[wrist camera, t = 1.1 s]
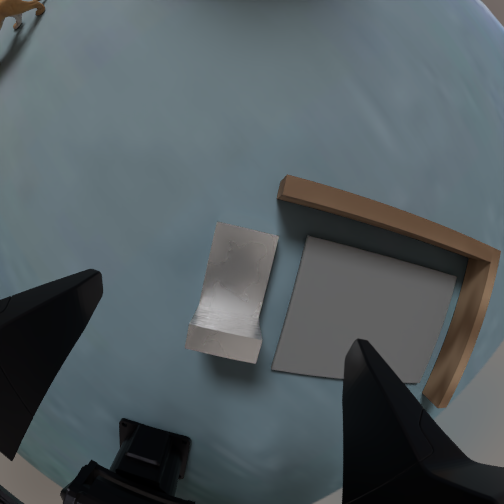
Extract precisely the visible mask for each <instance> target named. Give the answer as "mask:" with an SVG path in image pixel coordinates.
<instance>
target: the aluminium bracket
mask: <svg viewBox="0 0 504 504" xmlns="http://www.w3.org/2000/svg"><path fill="white" fill-rule="evenodd" d="M278 238H279V236H277V235H273V234H269V233H264V232H260V231H256V230H252V229H248V228H243V227H239V226H235V225H230V224H226V223H222V222H217V225H216V229H215V233H214V238H213V242H212V247H211V251H210V256H209V260H208V265H207V269H206V274H205V279H204V283H203V288H202V293H201V298H200V303H199V306H198V308H197V310H196V312H195V314H194V315H193V317H192V319H191V321H190V323H189V328H188V333H187V339H186V344H185V348H186V349H190V350H194V351H198V352H202V353H207V354H211V355H215V356H220V357H224V358H229V359H234V360H239V361H244V362H249V363H254V364H256V361H257V358H258V354H259V351H260V347H261V343H262V335H261V329H260V323H259V314H260V310H261V306H262V303H263V299H264V295H265V291H266V287H267V283H268V279H269V275H270V271H271V267H272V263H273V259H274V255H275V251H276V247H277V243H278Z"/></svg>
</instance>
